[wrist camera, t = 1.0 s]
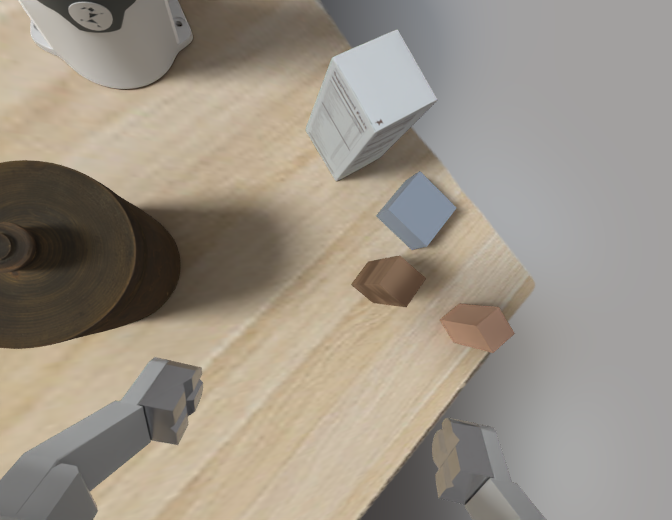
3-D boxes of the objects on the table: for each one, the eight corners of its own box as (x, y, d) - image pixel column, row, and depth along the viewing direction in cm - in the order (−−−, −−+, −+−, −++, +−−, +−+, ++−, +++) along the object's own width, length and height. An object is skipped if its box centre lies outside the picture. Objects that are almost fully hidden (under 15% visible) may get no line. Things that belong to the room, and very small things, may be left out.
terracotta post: (439, 319, 54) (476, 326, 46) (459, 303, 56) (498, 307, 47) (453, 342, 55) (493, 353, 46) (472, 326, 56) (514, 333, 47)
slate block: (375, 216, 53) (388, 209, 48) (404, 181, 55) (420, 171, 50) (410, 249, 54) (427, 246, 49) (438, 214, 56) (456, 207, 51)
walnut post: (351, 284, 51) (379, 284, 40) (368, 261, 52) (399, 255, 41) (373, 302, 52) (406, 307, 41) (389, 279, 53) (426, 278, 42)
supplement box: (382, 157, 54) (441, 102, 38) (335, 183, 52) (377, 136, 35) (352, 104, 53) (399, 24, 37) (303, 128, 51) (330, 54, 35)
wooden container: (37, 221, 41) (-184, 152, 20) (167, 200, 45) (98, 124, 24) (63, 339, 41) (-130, 396, 20) (192, 307, 45) (145, 327, 24)
